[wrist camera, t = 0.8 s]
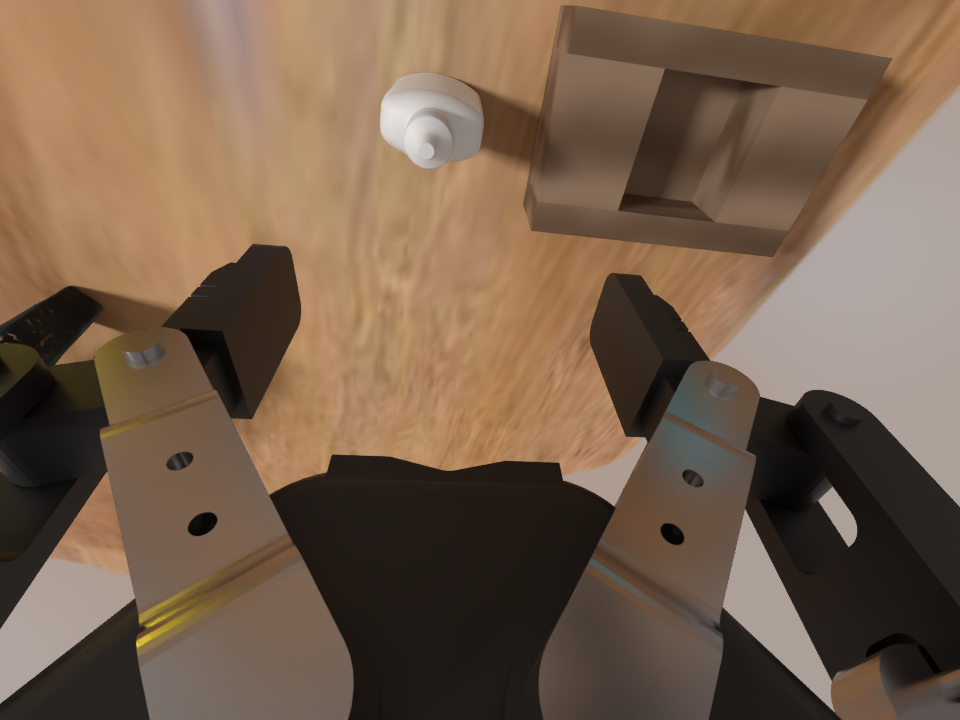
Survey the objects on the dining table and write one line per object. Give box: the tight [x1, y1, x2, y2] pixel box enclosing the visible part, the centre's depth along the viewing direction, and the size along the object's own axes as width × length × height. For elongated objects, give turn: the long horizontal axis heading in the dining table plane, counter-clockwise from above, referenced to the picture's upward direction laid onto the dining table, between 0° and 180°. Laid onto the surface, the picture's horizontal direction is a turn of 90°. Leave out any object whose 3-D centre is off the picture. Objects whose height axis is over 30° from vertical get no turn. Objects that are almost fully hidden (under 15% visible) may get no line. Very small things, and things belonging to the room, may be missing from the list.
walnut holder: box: [523, 5, 892, 257], centre depth 29 cm, size 12×18×5 cm, turn 83°
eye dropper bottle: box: [380, 73, 484, 169], centre depth 24 cm, size 4×6×12 cm
